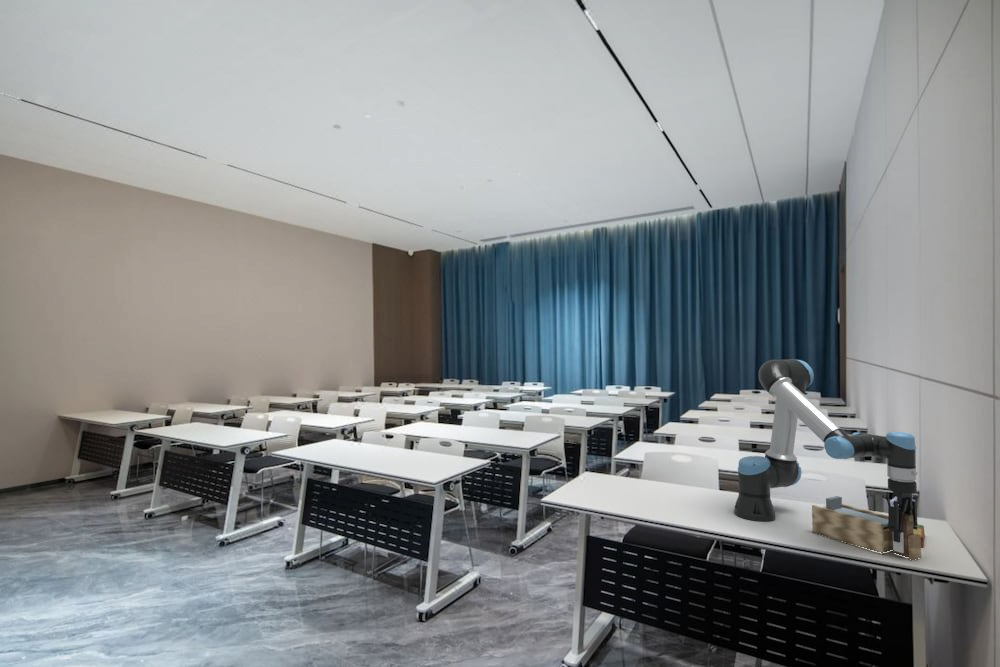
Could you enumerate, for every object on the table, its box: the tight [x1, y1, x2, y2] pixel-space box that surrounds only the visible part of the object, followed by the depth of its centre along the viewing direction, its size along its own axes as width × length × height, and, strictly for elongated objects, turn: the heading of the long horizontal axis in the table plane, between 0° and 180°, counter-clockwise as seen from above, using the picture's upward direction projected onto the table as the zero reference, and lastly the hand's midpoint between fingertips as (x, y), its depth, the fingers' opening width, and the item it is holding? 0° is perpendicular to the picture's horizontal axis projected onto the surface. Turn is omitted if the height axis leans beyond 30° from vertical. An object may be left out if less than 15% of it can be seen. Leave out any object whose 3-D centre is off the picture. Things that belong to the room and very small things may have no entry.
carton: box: [913, 524, 926, 549], centre depth 181 cm, size 8×16×4 cm, turn 139°
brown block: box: [893, 513, 914, 557], centre depth 167 cm, size 5×4×14 cm
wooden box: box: [811, 503, 922, 561], centre depth 177 cm, size 30×12×10 cm, turn 27°
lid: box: [822, 495, 888, 528], centre depth 180 cm, size 21×9×5 cm, turn 27°
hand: (903, 549), depth 166 cm, fingers open, 6 cm apart
